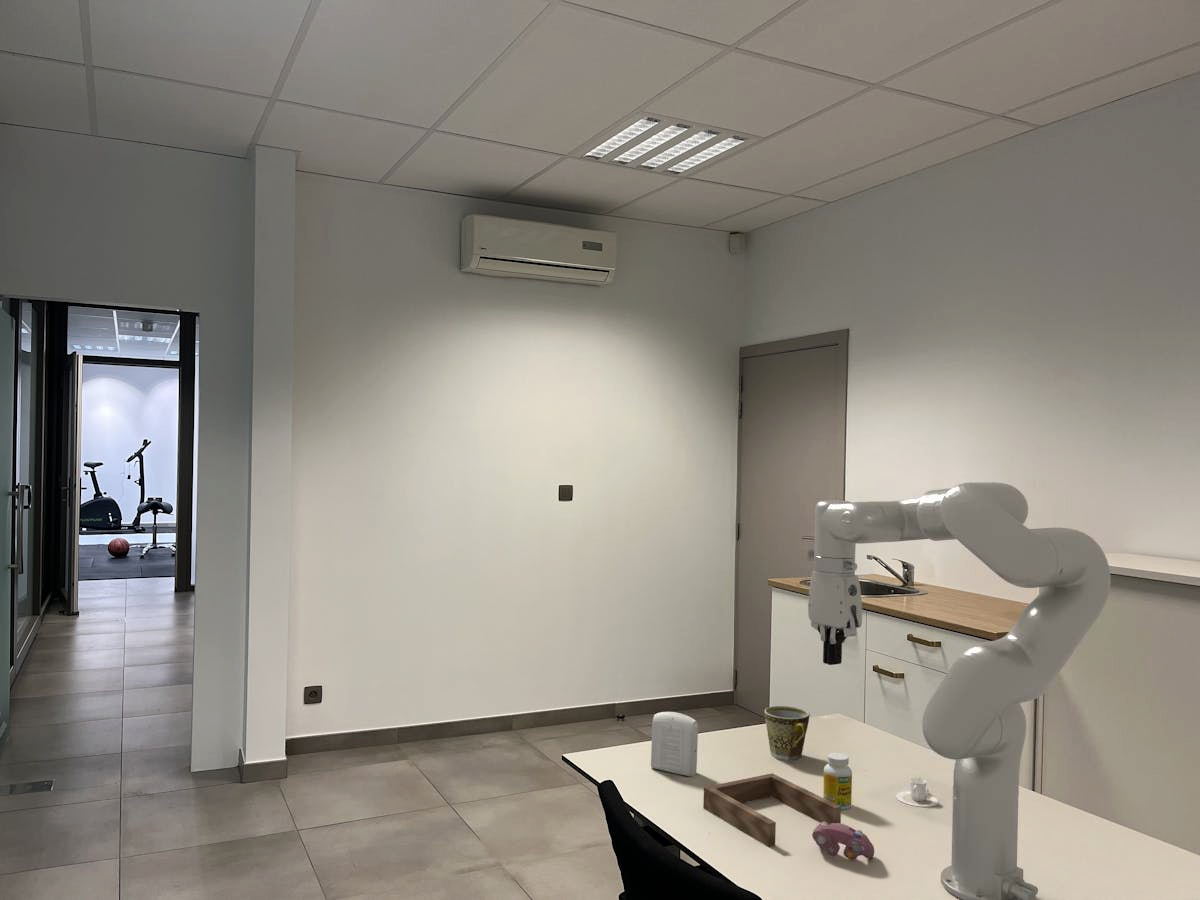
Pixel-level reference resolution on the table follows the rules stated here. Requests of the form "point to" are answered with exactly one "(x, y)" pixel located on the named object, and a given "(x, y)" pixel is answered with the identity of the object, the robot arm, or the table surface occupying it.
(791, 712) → the ceramic cup
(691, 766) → the photo printer
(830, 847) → the video game controller
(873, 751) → the table surface
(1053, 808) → the table surface
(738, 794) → the frame
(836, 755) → the supplement bottle
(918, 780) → the teacup and saucer
